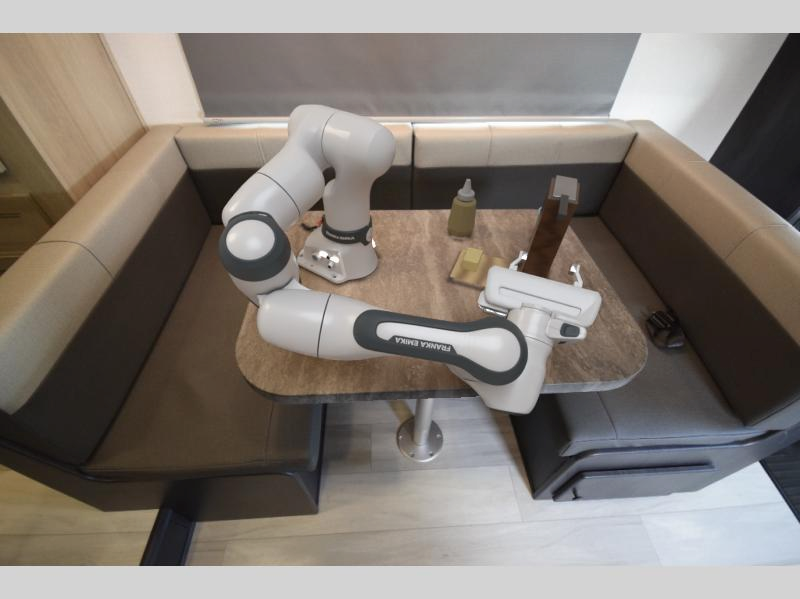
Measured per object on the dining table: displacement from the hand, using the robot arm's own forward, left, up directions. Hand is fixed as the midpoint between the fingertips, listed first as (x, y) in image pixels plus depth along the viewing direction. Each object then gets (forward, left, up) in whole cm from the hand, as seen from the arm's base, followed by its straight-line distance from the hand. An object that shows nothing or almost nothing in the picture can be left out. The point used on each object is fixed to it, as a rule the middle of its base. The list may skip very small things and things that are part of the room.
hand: (549, 258), depth 67 cm
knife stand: (0, +20, -22) cm, 29 cm away
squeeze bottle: (-23, +32, -22) cm, 45 cm away
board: (-12, +17, -22) cm, 30 cm away
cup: (+1, +38, -22) cm, 43 cm away
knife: (0, +15, +4) cm, 15 cm away
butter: (-16, +18, -20) cm, 31 cm away
